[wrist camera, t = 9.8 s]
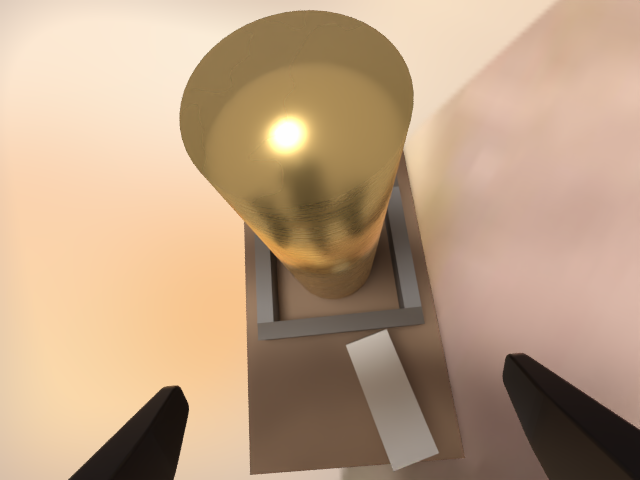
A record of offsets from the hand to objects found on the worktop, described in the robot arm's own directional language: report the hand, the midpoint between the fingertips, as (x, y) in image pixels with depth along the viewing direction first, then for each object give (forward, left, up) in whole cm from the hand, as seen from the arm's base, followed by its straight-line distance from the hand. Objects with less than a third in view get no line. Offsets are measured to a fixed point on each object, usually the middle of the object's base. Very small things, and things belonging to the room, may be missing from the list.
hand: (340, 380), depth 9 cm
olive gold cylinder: (+5, +2, -8) cm, 9 cm away
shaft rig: (+5, +2, -9) cm, 10 cm away
